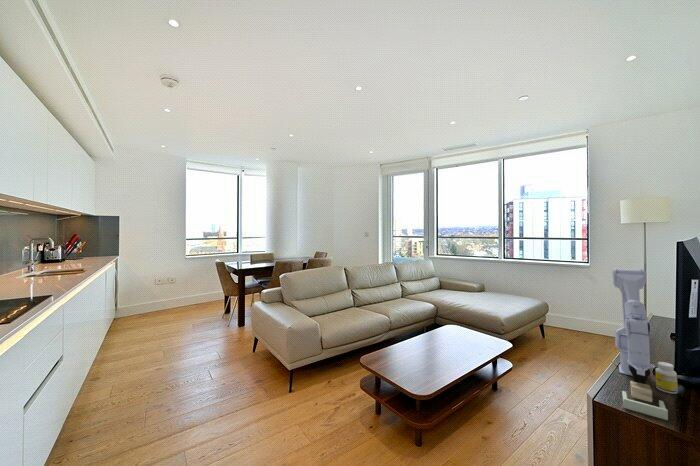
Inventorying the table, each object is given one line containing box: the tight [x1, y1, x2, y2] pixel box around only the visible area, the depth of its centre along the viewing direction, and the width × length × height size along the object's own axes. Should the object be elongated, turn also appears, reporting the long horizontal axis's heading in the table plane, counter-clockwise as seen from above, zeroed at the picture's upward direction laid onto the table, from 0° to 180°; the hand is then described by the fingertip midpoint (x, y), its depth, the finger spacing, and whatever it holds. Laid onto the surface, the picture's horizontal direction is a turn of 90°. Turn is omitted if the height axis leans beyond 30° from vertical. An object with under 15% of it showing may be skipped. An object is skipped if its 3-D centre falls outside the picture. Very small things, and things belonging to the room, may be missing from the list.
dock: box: [621, 390, 669, 421], centre depth 94 cm, size 9×10×3 cm
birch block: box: [629, 380, 653, 403], centre depth 101 cm, size 5×5×4 cm
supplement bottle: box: [654, 361, 679, 395], centre depth 105 cm, size 5×5×10 cm
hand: (639, 387), depth 104 cm, fingers closed
